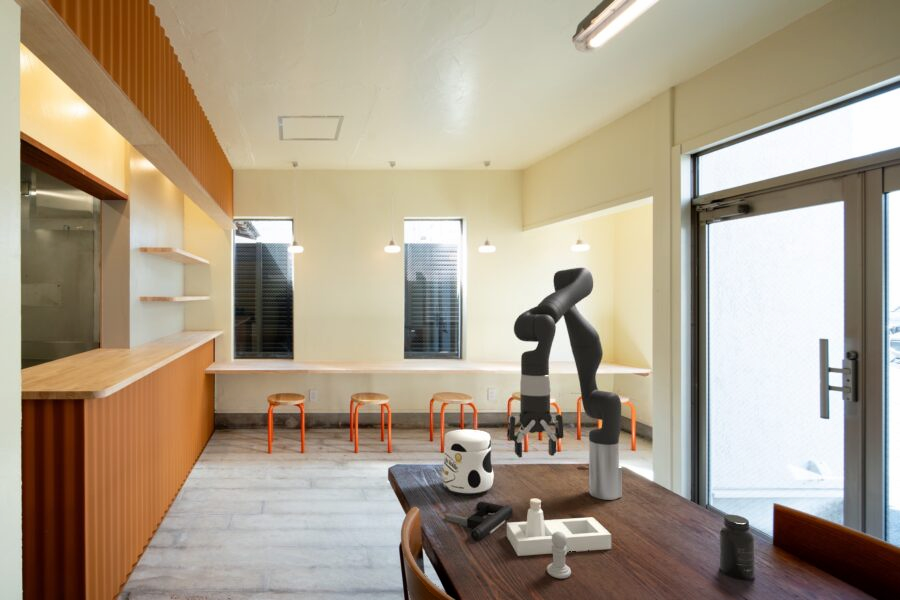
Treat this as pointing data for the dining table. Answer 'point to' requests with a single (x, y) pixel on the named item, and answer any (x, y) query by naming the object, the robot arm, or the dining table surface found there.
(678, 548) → the dining table surface
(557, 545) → the chess piece
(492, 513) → the door handle
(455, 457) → the milk container
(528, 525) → the salt shaker
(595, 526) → the rail
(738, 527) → the supplement bottle
